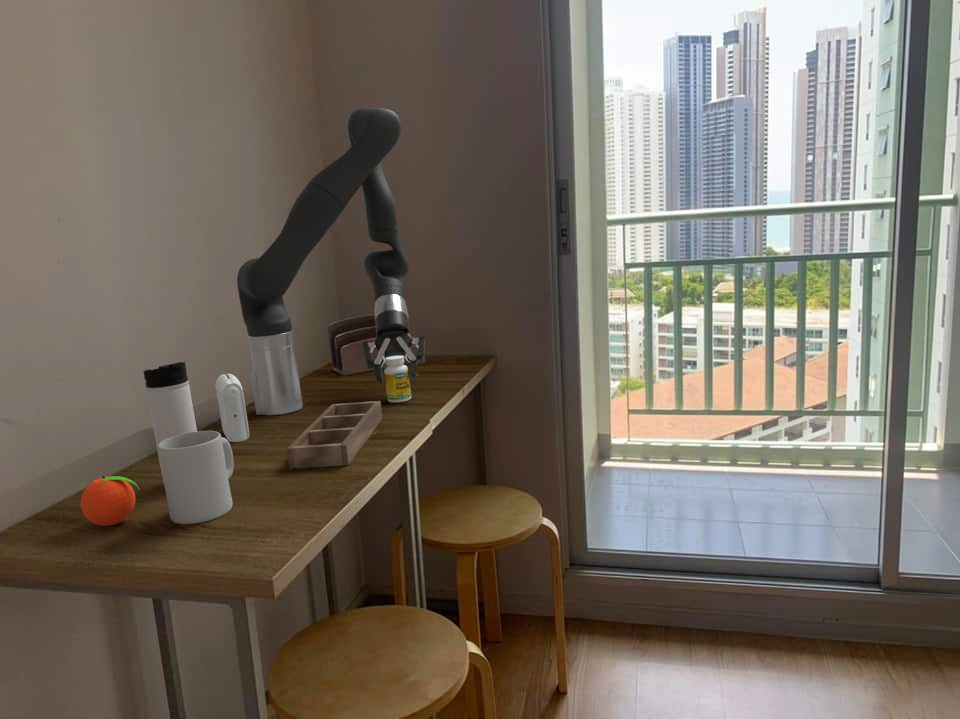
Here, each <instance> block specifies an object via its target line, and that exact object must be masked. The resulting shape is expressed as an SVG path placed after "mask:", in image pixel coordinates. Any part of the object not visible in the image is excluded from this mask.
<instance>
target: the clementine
mask: <svg viewBox="0 0 960 719" xmlns="http://www.w3.org/2000/svg"><path fill="white" fill-rule="evenodd" d="M130 483H131V484H132V485H134V486H135V487H136V488H137V489H138V490H139V491H141V489H140V488H139V486H138V484H137V483H136V482H134V481H133V480H132V479H129V478H127V477H125V476H120V475H118V476H117V475H116V476H115V475H108V476H104V475H103V476H101V477H99V478H97V479H95V480H93V481H92V482H91V483H89V484H88V485H87V487H86V488H85V489H84V491H83V492H82V494H81V499H80V507H81V511H82V514H83V515H84V517H85V518H86V519H87V520H88V521H89V522H90V523H93V524H94V525H97V526H100V527H110V526H115V525H118V524H120V523H122V522H124V521H125V520H126V519H128V517H129V516H131V514H132V512H133V510H134V508H135V505H136V494H135V491H134V488H133V486H132V485H131V484H130Z"/></svg>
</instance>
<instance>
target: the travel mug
mask: <svg viewBox="0 0 960 719" xmlns="http://www.w3.org/2000/svg"><path fill="white" fill-rule="evenodd" d="M187 374H188V373H187V366H186V362H185V361H183V362H181V361H178V362H174V363H170V364H166V365H165V364H164V365H162V366H161V365H160V366H158V368H153V369H149V368H147V369H145V370H143V377H144V380H145V390H146V395H147V401H148V408H149V412H150V417H151V423H152V428H153V434H154V441H155V444H156V445H155V446H156V452H157V457H158V462H159V466H160V467H159V468H160V472H161V477H162V483H163V484H162V485H163V488H165V484H164V479H163V473H162V468H161V462H160V457H159V451H158V445H159V443H160V442H162V441H164V440H166V439H168V438H170V437H173V436H177V435H180V434H185V433H190V432H197V431H198V429H197V428H198V427H197V424H196V423H197V422H196V417H195V411H194V406H193V400H192V394H191V388H190V384H189V382H190V381H189V378H188V375H187Z"/></svg>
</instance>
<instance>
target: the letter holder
mask: <svg viewBox="0 0 960 719" xmlns="http://www.w3.org/2000/svg"><path fill="white" fill-rule="evenodd" d="M327 332H328V340H329V347H330V356H331V366H332V370H333V372H335V373H337V374H339V375H341V376H343V377H346V376H351V375H356V374H361V373H368V372H371V371H375V369H373V368H371V369H368V368H367V364H366V359H365V354H364V349H363V342H364V341H367V342H368V343H371V342H375V340H376V325H375V313H371V314H362V315H357V316H356V315H355V316H352V317H348V318H343V319H340V320H336V321H333V322H330V323H328V326H327ZM410 350H411V351H412V346H411V347H410ZM378 352H379V350H378V349H376V347H375V348H374V349H373V352H372V353H370V356H371V360H374V361H375V359H376V358H377V356H378ZM403 365H406V366H407V365H410V363H409V362H408V361H407V360H406V359H405V358H404V363H403ZM386 367H388V366H387V365H386V361H385V363H384V364H383V365H382V367H381V369H382V370H383V369H385V368H386Z"/></svg>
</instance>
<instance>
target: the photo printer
mask: <svg viewBox="0 0 960 719" xmlns="http://www.w3.org/2000/svg"><path fill="white" fill-rule="evenodd" d="M215 390H216V391H215V392H216V397H217V403H218V410H219V415H220V422H221V428H222V429H221V430H222V431H223V435H224V436H225V438H226V439H227V440H228V442H229V443H230V442H231V443H240V442H244V441H247V440H248V439H249V438H250V429H249V428H250V427H249V422H248V421H249V420H248V415H247V409H246V403H245V396H244V390H243V386H242V384H241V382H240V380H239V379H238V377H236V376H235V375H234V374H232V373H225V374H223V373H222V374H221V375H219V376H218V377H217V378H216V381H215Z"/></svg>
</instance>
